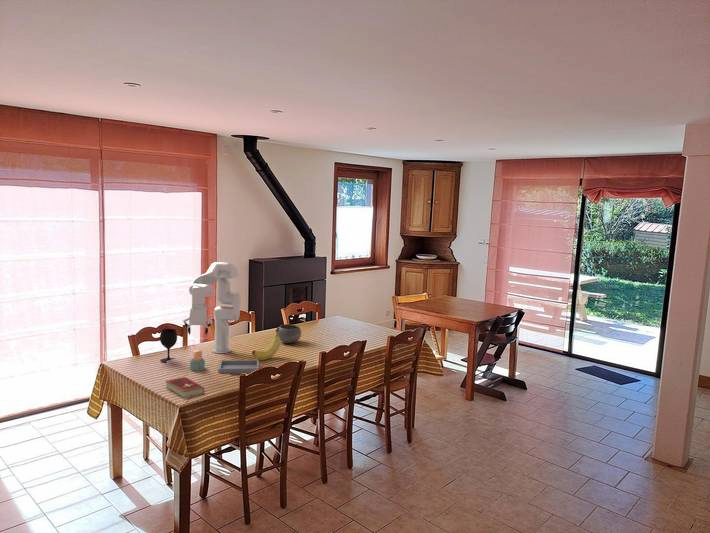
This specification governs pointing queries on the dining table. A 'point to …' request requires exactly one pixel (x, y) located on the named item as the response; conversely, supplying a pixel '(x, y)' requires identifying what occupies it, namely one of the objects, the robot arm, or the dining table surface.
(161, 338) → the wine glass
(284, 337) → the bowl
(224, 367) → the tray
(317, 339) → the dining table surface
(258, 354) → the banana
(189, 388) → the hardcover book
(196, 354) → the peg
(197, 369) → the cup
